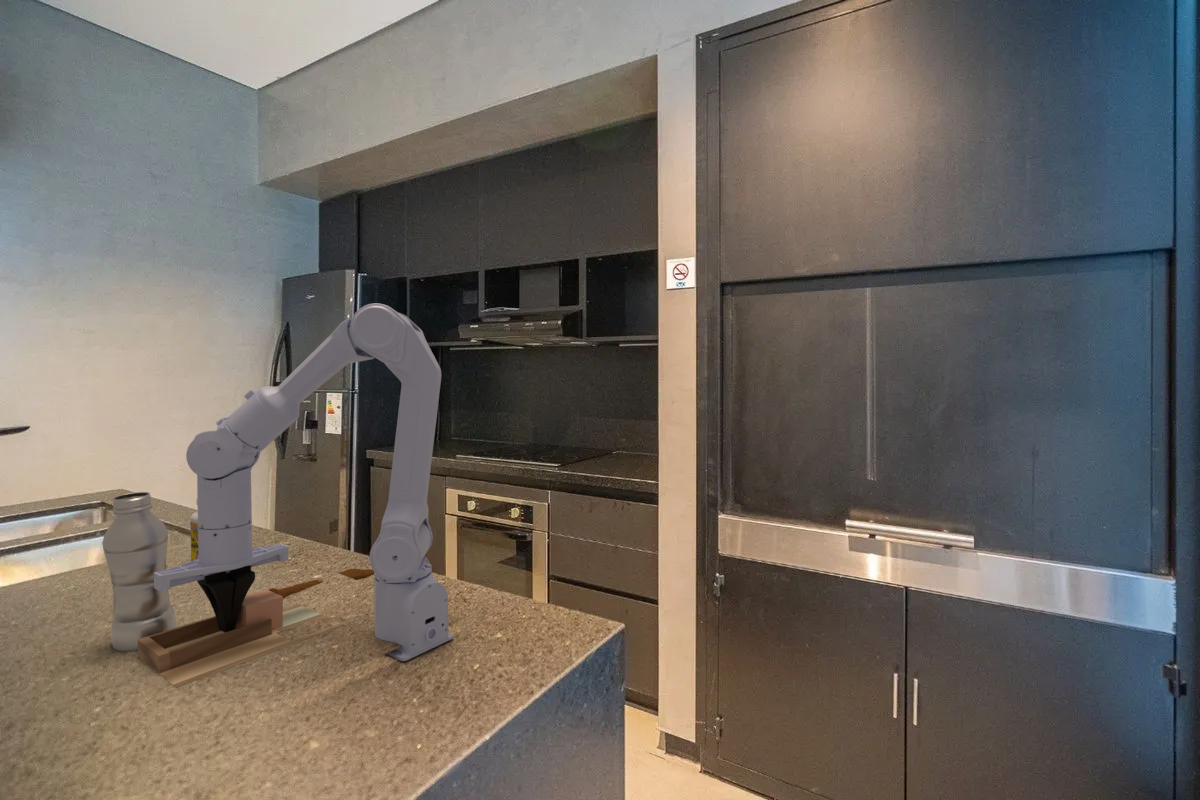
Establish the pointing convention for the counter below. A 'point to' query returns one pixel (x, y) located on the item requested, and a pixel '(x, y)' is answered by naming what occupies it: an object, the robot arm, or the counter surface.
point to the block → (261, 609)
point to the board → (219, 645)
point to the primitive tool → (294, 589)
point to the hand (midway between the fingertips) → (227, 629)
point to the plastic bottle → (136, 571)
